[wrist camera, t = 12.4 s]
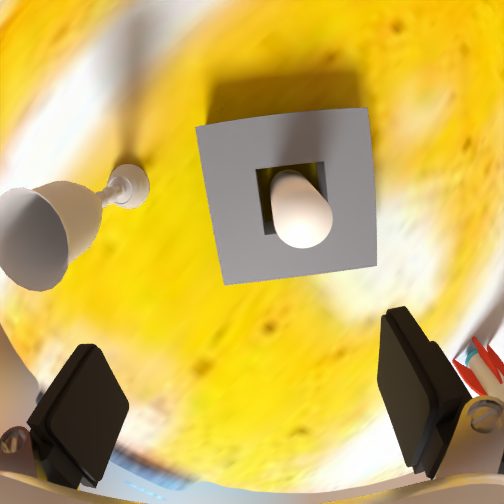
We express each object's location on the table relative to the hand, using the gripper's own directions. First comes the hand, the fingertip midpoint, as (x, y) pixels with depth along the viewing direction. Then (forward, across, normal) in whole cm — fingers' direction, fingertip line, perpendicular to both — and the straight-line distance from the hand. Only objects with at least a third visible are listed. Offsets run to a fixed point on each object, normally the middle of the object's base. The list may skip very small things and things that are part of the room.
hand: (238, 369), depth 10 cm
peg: (+25, -4, 0) cm, 25 cm away
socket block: (+25, -4, 0) cm, 25 cm away
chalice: (+25, +13, -4) cm, 29 cm away
